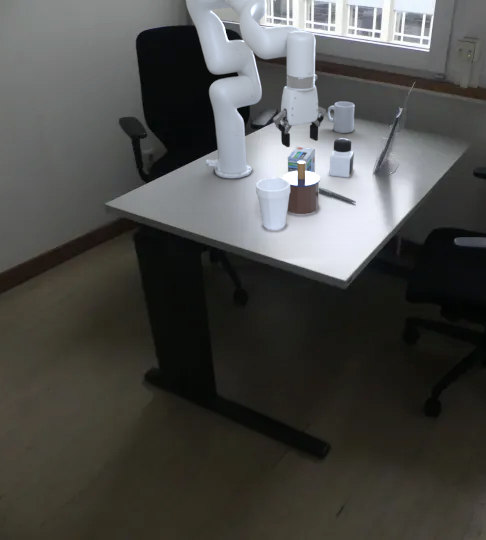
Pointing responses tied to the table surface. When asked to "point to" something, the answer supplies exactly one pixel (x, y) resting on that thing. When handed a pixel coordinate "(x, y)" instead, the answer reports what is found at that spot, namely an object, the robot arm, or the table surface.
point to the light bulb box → (302, 159)
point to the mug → (342, 117)
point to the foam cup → (273, 201)
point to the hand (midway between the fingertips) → (300, 142)
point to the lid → (302, 176)
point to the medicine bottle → (341, 158)
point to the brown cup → (303, 199)
